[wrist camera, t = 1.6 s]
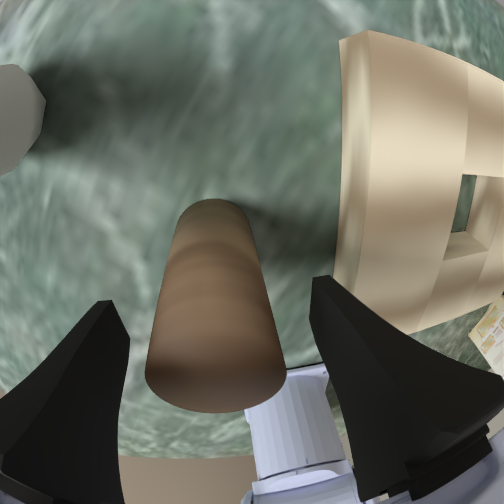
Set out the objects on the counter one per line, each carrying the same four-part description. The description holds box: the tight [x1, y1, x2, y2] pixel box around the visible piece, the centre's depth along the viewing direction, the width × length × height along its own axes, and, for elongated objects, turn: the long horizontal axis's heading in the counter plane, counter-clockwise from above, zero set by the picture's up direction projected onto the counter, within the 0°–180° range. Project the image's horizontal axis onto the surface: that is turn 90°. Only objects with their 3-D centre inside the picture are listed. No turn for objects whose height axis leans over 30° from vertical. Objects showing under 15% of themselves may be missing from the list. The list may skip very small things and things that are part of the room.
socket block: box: [333, 30, 504, 335], centre depth 14 cm, size 18×18×3 cm
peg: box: [145, 199, 287, 413], centre depth 11 cm, size 4×4×9 cm
